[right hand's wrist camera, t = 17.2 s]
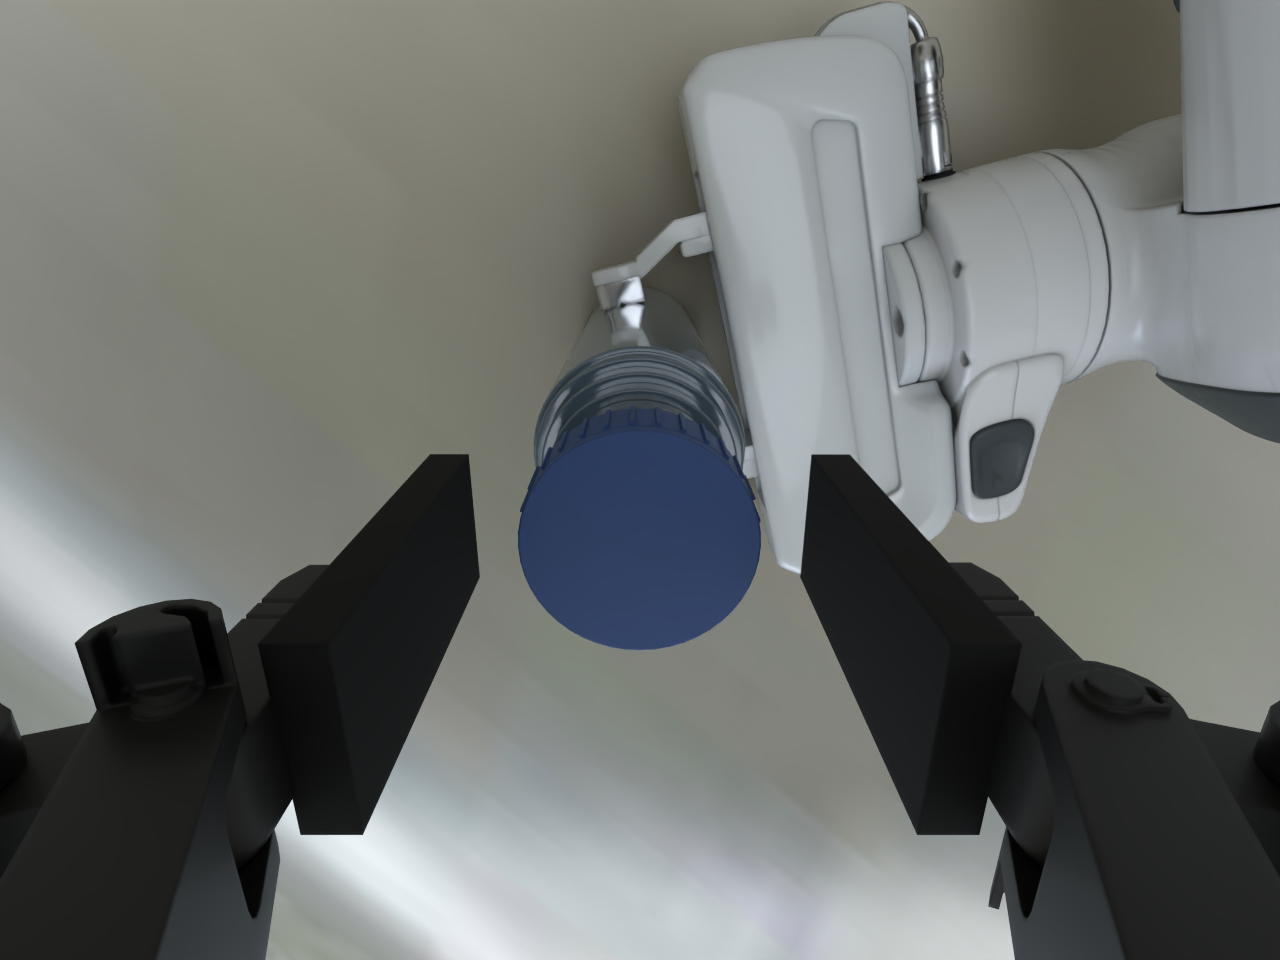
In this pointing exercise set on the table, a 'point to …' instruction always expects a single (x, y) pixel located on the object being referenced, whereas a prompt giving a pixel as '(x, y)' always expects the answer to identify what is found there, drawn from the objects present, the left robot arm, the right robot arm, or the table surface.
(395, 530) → the right robot arm
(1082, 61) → the table surface
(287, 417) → the table surface
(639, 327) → the bottle
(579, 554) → the cap
